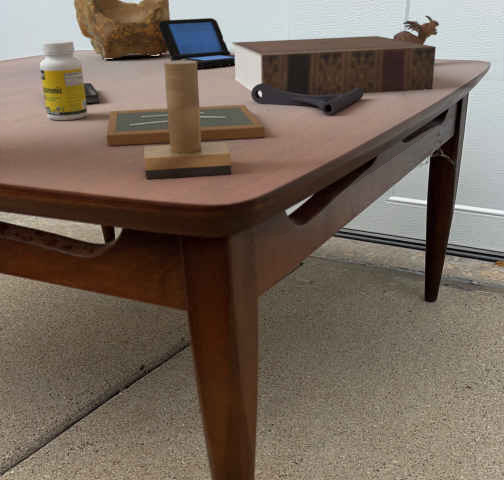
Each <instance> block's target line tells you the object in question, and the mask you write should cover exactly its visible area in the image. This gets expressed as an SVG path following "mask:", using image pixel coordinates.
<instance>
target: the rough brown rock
mask: <svg viewBox="0 0 504 480" xmlns="http://www.w3.org/2000/svg"><path fill="white" fill-rule="evenodd" d="M73 6H74V10H75V17H76V21H77V23H78V27H79V30H80V33H81V35H82V36H83V37H85V38H87V39H88V40H89V42H90V45H91V47H92V48H93V50H94V52H95V54H96V55H98V54H100V55H101V56H102V57H101V56H100V57H101V58H102V59H103V58H117V57H119V58H121V57H124V56H126V55H144V56H147V55H148V54H149V55H157V54H162V53H165V54H166V53H169V52H168V49H167V46H166V44H165V41H164V39H163V36H162V34H161V31H160V28H159V22H160V21H163V20H171V17H170V16H171V14H170V0H141V1H140V2H139V3H135V2H125V1H122V0H74V1H73ZM117 59H118V58H117Z"/></svg>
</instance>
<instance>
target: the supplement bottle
mask: <svg viewBox="0 0 504 480" xmlns="http://www.w3.org/2000/svg"><path fill="white" fill-rule="evenodd" d="M41 47H42V52H43V54H44V56H45V59H44V58H43V60H41V61H40V63H39V69H40V77H41V83H42V84H41V85H42V88H43V89H42V90H43V98H44V103H45V111H46V115H47V118H48V119H50V120H51V121H52V120H53V121H74V120H80V119H84V118H86V117H87V116H88V107H87V106H88V105H87V103H86V98H85V90H84V83H85V82H84V75H83V67H82V61H80V59H78V58H77V57H74V53H75V47H74V41H73V40H47V41H42V42H41Z"/></svg>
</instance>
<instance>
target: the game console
mask: <svg viewBox="0 0 504 480" xmlns="http://www.w3.org/2000/svg"><path fill="white" fill-rule="evenodd" d="M159 28H160V31H161V34H162V36H163V39H164V41H165V44H166V46H167V49H168V52H167V53H169V56H170V61H179V60H190V61H197V69H202V68H201V67H208V68H211V67H210V66H219V67H221V66H220V65H228V66H230V65H229V64H235V54H231V52H230V51H229V49H228V46H227V43H226V41H224V36H223V33H222V30H221V28H220V25H219V23H218V21H217V20H216V19H215V18H212V17H206V18H185V19H184V18H183V19H170V20H163V21H160V22H159Z"/></svg>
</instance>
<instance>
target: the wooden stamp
mask: <svg viewBox="0 0 504 480" xmlns="http://www.w3.org/2000/svg"><path fill="white" fill-rule="evenodd" d="M163 64H164V65H163V68H164V80H165V95H166V109H167V111H168V125H169V139H170V142H169V144H166V145H165V144H164V145H147V146H146V145H145V146H143V156H144V157H143V158H144V168H145V178H146V180H154V179H167V178H168V179H170V178H171V179H172V178H187V177H189V178H190V177H201V176H203V177H205V176H219V175H232V155H231V154H232V153H231V152H230V150H229V148H228V146H227V144H226V143H225V142H224V141H219V142H218V141H217V142H216V141H215V142H202V141H201V128H200V109H199V107H200V94H199V93H200V91H199V90H200V89H199V73H198V72H199V71H198V68H197V61H190V60H179V61H171V60H169V61H164V62H163Z"/></svg>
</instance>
